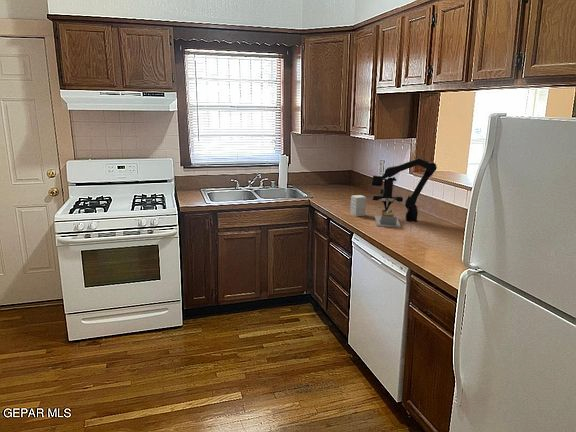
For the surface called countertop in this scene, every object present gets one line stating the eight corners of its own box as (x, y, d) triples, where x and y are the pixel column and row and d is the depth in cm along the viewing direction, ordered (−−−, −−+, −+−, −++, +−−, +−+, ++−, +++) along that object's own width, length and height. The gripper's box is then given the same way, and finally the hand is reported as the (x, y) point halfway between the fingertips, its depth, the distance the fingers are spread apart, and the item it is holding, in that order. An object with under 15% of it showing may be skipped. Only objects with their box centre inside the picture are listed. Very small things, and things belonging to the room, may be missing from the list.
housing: (392, 223, 267) (393, 212, 265) (383, 222, 267) (384, 211, 266) (391, 221, 271) (392, 210, 270) (383, 220, 272) (384, 209, 270)
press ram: (392, 217, 279) (392, 210, 278) (393, 220, 271) (393, 213, 270) (380, 217, 280) (381, 209, 279) (381, 220, 272) (382, 212, 271)
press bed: (396, 218, 285) (397, 209, 283) (400, 227, 263) (401, 217, 262) (374, 217, 286) (375, 208, 285) (376, 226, 265) (377, 216, 263)
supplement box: (359, 213, 296) (360, 194, 293) (365, 215, 289) (366, 197, 286) (349, 213, 293) (351, 195, 290) (355, 216, 287) (356, 197, 283)
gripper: (401, 185, 287) (399, 209, 291) (372, 184, 289) (370, 207, 293) (403, 188, 276) (401, 213, 280) (373, 187, 278) (371, 211, 282)
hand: (386, 211), depth 284 cm, fingers closed
